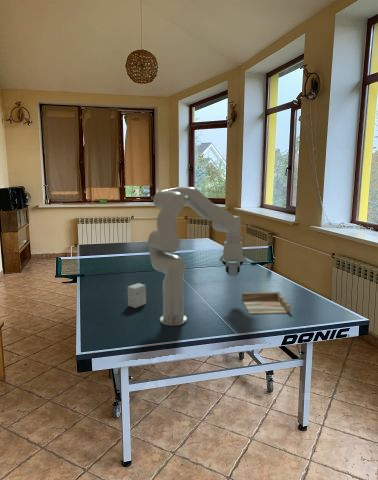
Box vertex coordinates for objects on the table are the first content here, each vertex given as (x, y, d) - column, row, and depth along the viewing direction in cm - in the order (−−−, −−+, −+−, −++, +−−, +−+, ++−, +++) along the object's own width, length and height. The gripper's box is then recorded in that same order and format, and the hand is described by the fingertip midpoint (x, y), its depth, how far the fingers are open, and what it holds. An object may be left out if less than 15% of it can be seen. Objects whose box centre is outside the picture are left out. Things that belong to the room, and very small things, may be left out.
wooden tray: (289, 313, 184) (290, 305, 183) (249, 314, 183) (249, 306, 182) (278, 299, 203) (278, 292, 203) (242, 300, 203) (242, 292, 202)
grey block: (237, 276, 195) (237, 265, 194) (228, 276, 196) (228, 264, 195) (236, 272, 202) (236, 261, 201) (228, 272, 203) (228, 261, 201)
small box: (139, 301, 201) (138, 282, 199) (146, 303, 198) (145, 284, 196) (127, 305, 195) (127, 286, 193) (135, 308, 192) (134, 288, 190)
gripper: (248, 238, 199) (248, 271, 202) (216, 238, 200) (216, 271, 203) (250, 241, 191) (249, 275, 195) (217, 240, 192) (216, 275, 196)
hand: (232, 273), depth 199 cm, fingers closed on grey block, 4 cm apart
